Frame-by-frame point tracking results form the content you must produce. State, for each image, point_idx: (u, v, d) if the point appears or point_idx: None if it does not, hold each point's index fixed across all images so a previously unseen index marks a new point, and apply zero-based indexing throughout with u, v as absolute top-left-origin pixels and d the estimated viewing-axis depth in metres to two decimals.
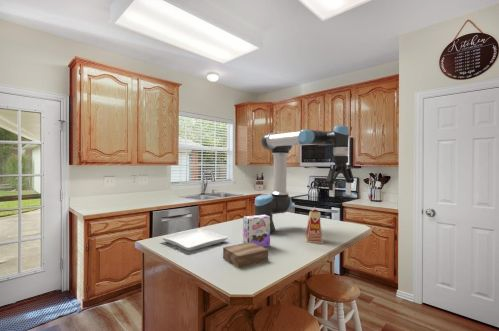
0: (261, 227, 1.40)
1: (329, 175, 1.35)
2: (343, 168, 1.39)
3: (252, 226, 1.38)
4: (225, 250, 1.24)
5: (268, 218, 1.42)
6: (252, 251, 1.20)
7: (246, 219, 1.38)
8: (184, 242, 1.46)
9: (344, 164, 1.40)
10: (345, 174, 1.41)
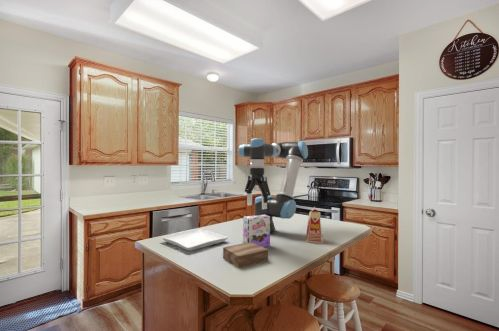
0: (261, 227, 1.40)
1: None
2: None
3: (252, 226, 1.38)
4: (225, 250, 1.24)
5: (268, 218, 1.42)
6: (252, 251, 1.20)
7: (246, 219, 1.38)
8: (184, 242, 1.46)
9: (257, 176, 1.40)
10: None
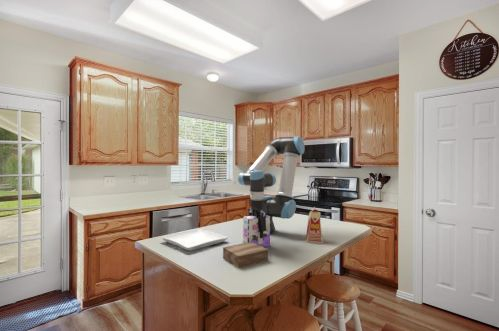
0: None
1: None
2: None
3: (252, 226, 1.38)
4: (225, 250, 1.24)
5: (268, 218, 1.42)
6: (252, 251, 1.20)
7: (246, 219, 1.38)
8: (184, 242, 1.46)
9: (257, 208, 1.40)
10: None
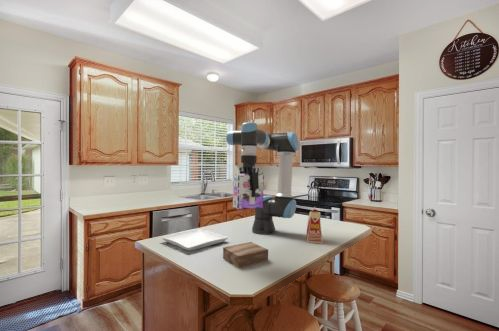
0: None
1: None
2: None
3: (243, 183, 1.23)
4: (225, 250, 1.24)
5: (261, 176, 1.28)
6: (252, 251, 1.20)
7: (236, 175, 1.24)
8: (184, 242, 1.46)
9: (249, 163, 1.25)
10: None
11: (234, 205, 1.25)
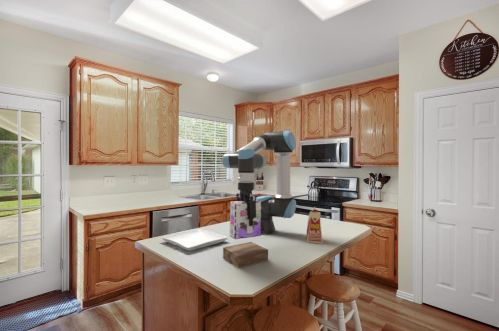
0: None
1: None
2: None
3: (240, 212, 1.19)
4: (225, 250, 1.24)
5: (259, 203, 1.24)
6: (252, 251, 1.20)
7: (233, 204, 1.20)
8: (184, 242, 1.46)
9: (246, 191, 1.21)
10: None
11: (231, 234, 1.21)
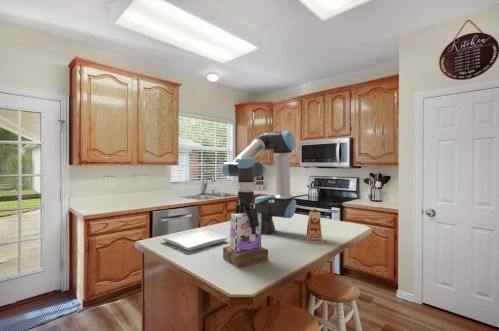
0: None
1: None
2: None
3: (241, 225, 1.19)
4: (225, 250, 1.24)
5: (259, 216, 1.24)
6: (252, 251, 1.20)
7: (234, 217, 1.19)
8: (184, 242, 1.46)
9: (246, 201, 1.21)
10: None
11: (231, 247, 1.21)
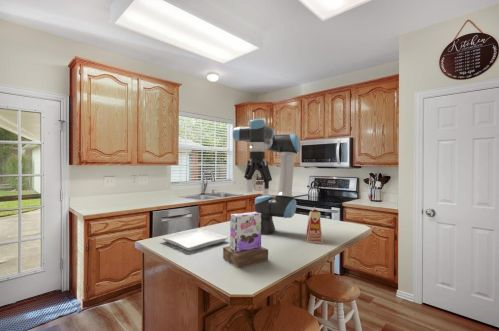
0: (251, 226, 1.22)
1: None
2: None
3: (241, 225, 1.19)
4: (225, 250, 1.24)
5: (259, 216, 1.24)
6: (252, 251, 1.20)
7: (233, 217, 1.20)
8: (184, 242, 1.46)
9: (257, 160, 1.29)
10: None
11: (231, 247, 1.21)
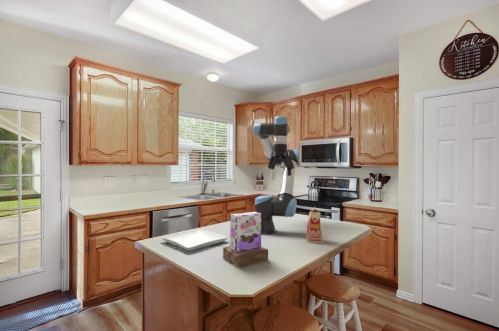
0: (251, 226, 1.22)
1: None
2: None
3: (241, 225, 1.19)
4: (225, 250, 1.24)
5: (259, 216, 1.24)
6: (252, 251, 1.20)
7: (233, 217, 1.19)
8: (184, 242, 1.46)
9: (280, 151, 1.50)
10: None
11: (231, 247, 1.21)
